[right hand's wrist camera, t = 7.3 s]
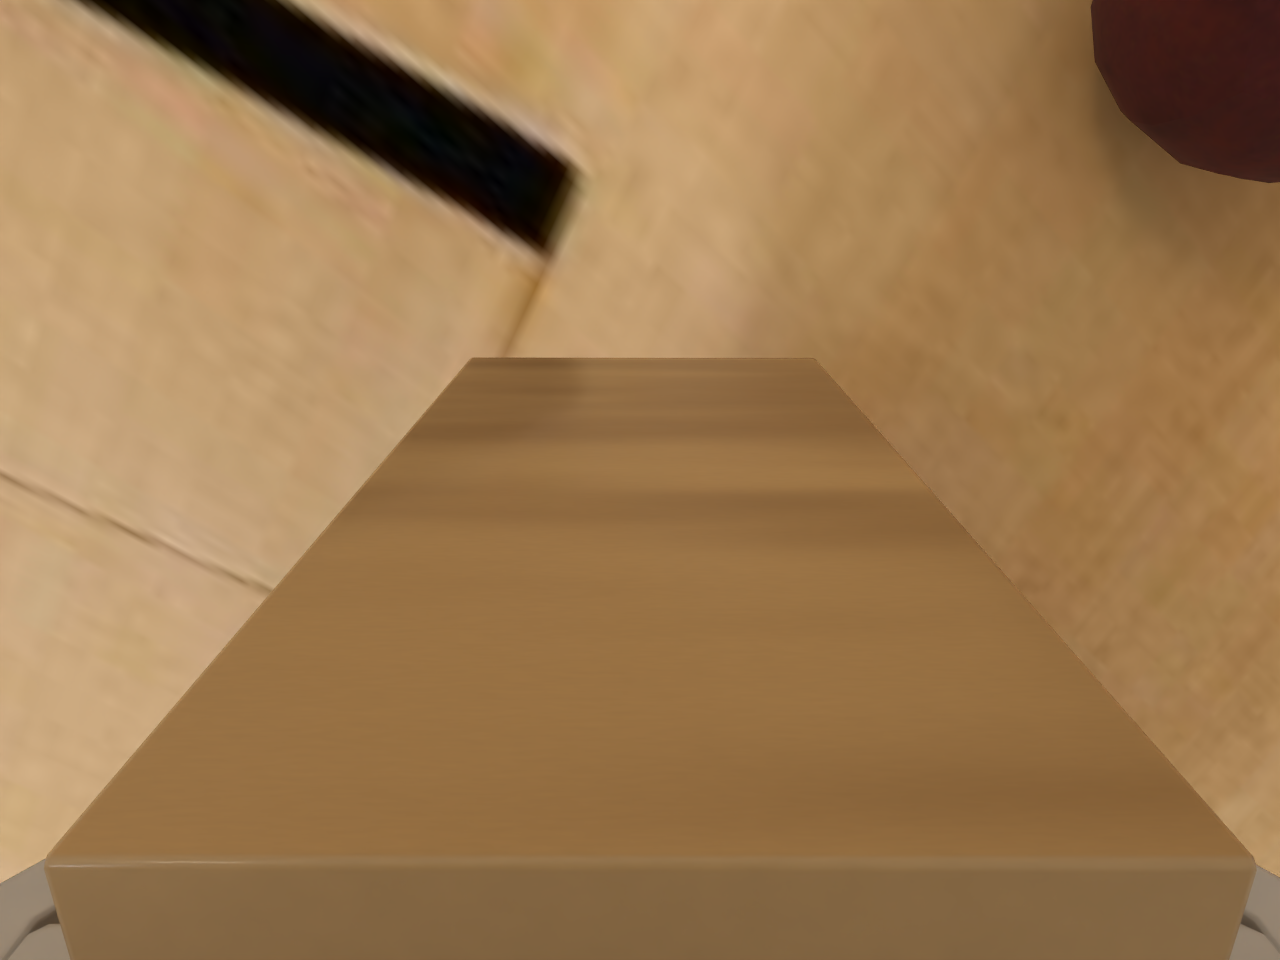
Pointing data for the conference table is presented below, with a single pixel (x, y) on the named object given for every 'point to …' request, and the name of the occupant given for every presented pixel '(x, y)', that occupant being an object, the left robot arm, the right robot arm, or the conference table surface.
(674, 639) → the box
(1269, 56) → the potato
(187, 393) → the conference table surface
